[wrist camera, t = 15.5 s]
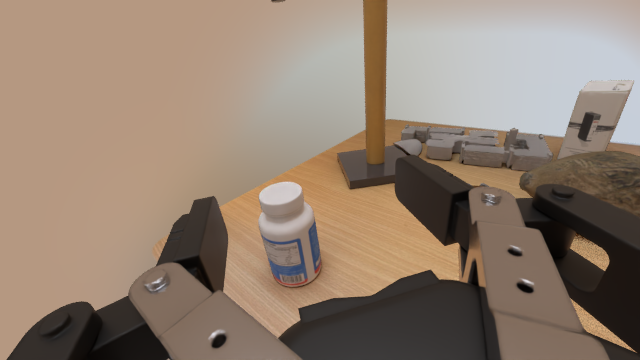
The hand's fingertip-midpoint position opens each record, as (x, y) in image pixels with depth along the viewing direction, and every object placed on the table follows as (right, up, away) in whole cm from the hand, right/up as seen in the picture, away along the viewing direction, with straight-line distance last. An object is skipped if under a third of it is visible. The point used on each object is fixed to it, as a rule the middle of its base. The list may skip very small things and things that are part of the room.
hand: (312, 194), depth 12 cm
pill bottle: (-2, -9, +17) cm, 19 cm away
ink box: (+43, +4, +32) cm, 53 cm away
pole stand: (+10, +3, +36) cm, 38 cm away
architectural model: (+27, +6, +39) cm, 48 cm away
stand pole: (+10, +4, +36) cm, 37 cm away
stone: (+32, -4, +19) cm, 38 cm away
